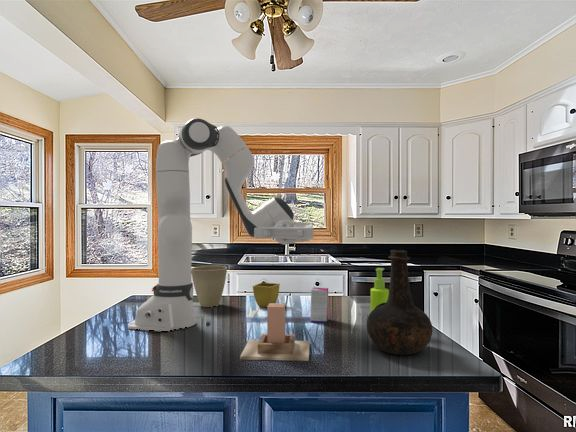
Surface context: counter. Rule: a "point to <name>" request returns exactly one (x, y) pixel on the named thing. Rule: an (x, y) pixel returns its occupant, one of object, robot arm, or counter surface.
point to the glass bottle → (399, 315)
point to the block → (276, 322)
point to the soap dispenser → (378, 290)
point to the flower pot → (266, 293)
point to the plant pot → (209, 284)
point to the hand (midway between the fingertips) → (282, 233)
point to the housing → (276, 349)
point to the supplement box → (319, 305)
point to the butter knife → (253, 313)
